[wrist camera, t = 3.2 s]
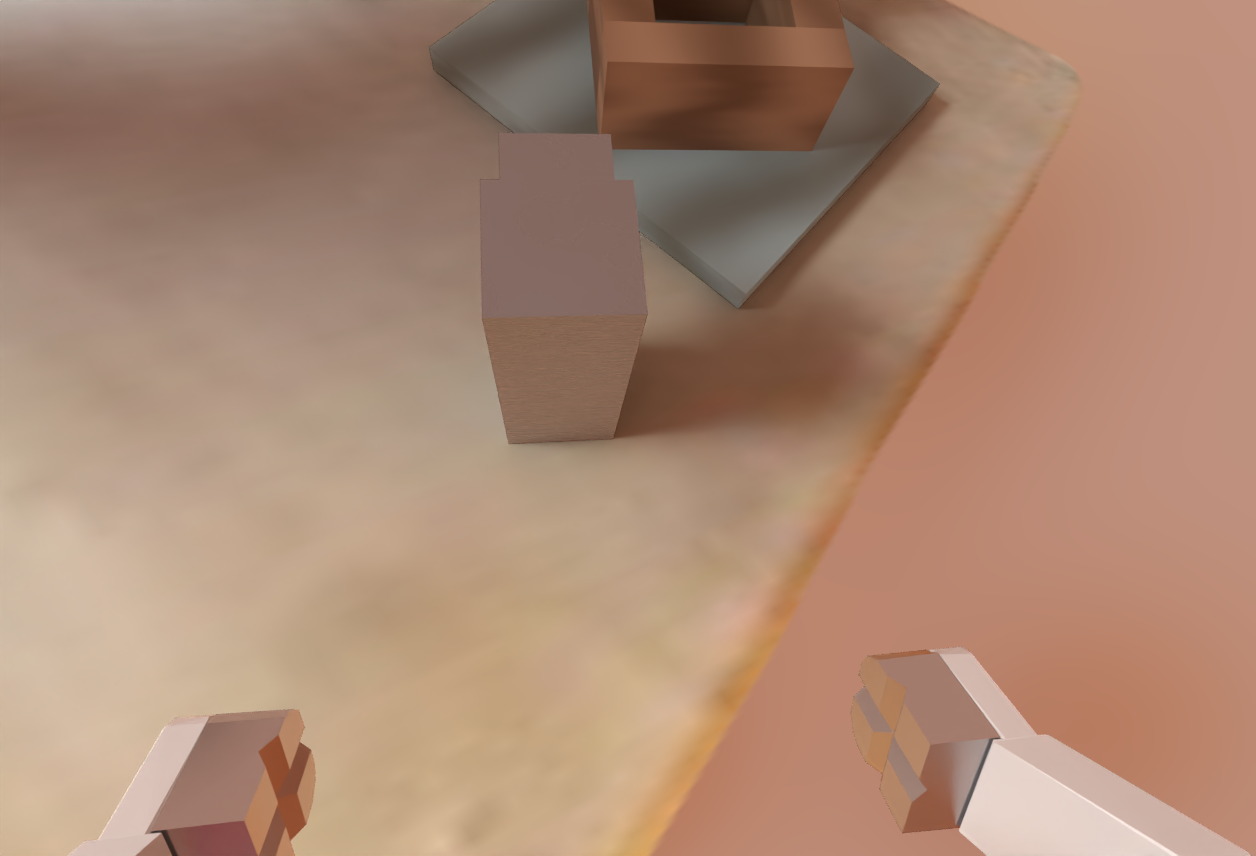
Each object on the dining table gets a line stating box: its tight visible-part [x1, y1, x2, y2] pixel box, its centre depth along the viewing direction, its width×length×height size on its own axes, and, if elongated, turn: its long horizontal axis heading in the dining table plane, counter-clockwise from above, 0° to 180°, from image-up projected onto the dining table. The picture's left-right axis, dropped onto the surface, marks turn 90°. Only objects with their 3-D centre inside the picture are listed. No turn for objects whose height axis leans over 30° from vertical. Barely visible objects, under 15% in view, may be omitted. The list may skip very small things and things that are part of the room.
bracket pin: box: [480, 133, 647, 444], centre depth 22 cm, size 4×6×10 cm
